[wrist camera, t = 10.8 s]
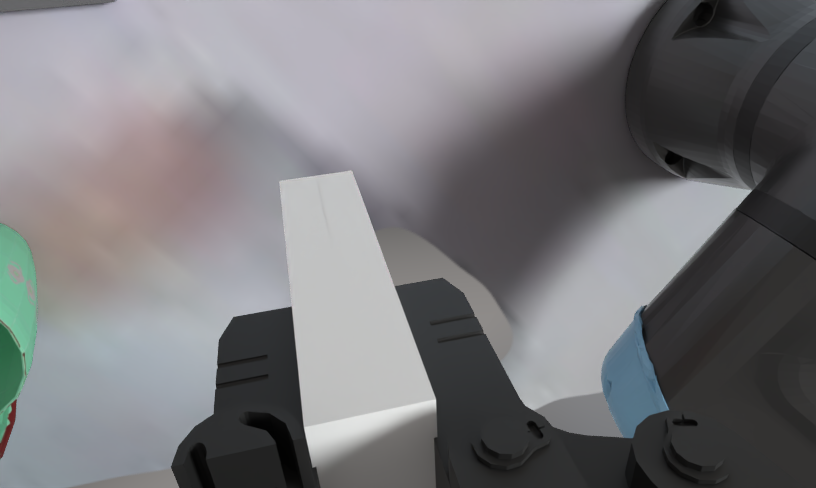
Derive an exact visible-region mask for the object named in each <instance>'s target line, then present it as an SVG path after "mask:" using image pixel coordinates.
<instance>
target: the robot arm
mask: <svg viewBox="0 0 816 488" xmlns="http://www.w3.org/2000/svg"><path fill="white" fill-rule="evenodd" d="M625 103H626V116H627V121H628V125H629V128H630V131H631V134H632V136H633V138H634V140H635V142H636V144H637V145H638V147H639V148H640V149H641V151H642V152H643V153H644V154H645V155H646V156H647V157H648V158H650V159H651V160H652V161H654V162H655V163H657V164H658V165H660V166H661V167H663V168H664V169H666V170H667V171H669V172H671V173H673V174H674V175H677V176H679V177H682V178H684V179H687V180H691V181H696V182H702V183H709V184H715V185H722V186H728V187H734V188H741V189H747V190H752V192H751V193H750V194H749V195H748V196H747V197H746V198H745V199H744V200H743V202H742V203H741V204H740V205H739V206H738V207H737V208H736V209H734V211H733V212H732V213H731V214H730V215H729V216H728V217H727V218H726V219H725V221H724V222H723V223H722V224H721V225H720V226H719V227H718V228H717V230H716V231H715V232H714V233H713V234H712V235H711V236H710V237H709V238H708V240H707V241H706V242H705V243H704V244H703V245H702V246H701V247H700V248H699V250H698V251H697V252H696V253H695V254H694V255H693V256H692V257H691V259H690V260H689V261H688V262H687V263H686V264H685V265H684V266H683V267H682V269H681V270H680V271H679V272H678V273H677V274H676V275H675V276H674V277H673V279H672V280H671V281H670V282H669V283H668V284H667V285H666V286H665V287H664V288H663V290H662V291H661V292H660V293H659V294H658V295H657V296H656V297H655V298H654V299H653V300H652V301H651V302H650V304H649V305H648V306H647V305H646V306H641V307H640V308H639V309H638V310H637V312H636V313H635V316H634V320H633V322H632V323H631V324H630V325H629V327H628V328H627V329H626V330H625V332H624V333H623V334H622V335H621V336H620V338H619V339H618V340H617V341H616V343H615V344H614V345H613V346H612V348H611V349H610V350H609V352H608V353H607V355H606V356H605V359H604V361H603V365H602V373H601V381H602V388H603V392H604V395H605V398H606V401H607V403H608V405H609V410H610V412H611V415H612V417H613V419H614V421H615V423H616V425H617V427H618V428H619V430H620V432H621V434H622V435H623V437H624V438H619V437H603V436H587V435H580V434H574V433H569V432H566V431H563V430H560V429H557V428H554V427H552V426H551V425H550V423H549V422H548V421H547V420H546V419H545V417H543V416H542V415H540V414H538V413H536V412H535V411H533V410H531V409H530V408H528V407H526V406H525V405H524V404H523V402H522V401H521V400H520V398H519V396H518V394H517V392H516V391H515V389H514V387H513V385H512V383H511V381H510V379H509V378H508V376H507V374H506V372H505V370H504V368H503V366H502V364H501V363H500V361H499V359H498V357H497V355H496V353H495V351H494V349H493V348H492V346H491V344H490V342H489V340H488V338H487V336H486V334H484V333H483V329H482V327H481V325H480V323H479V321H478V319H477V318H476V317H475V316H474V312H473V310H472V308H471V306H470V305H469V303H468V301H467V299H466V297H465V295H464V293H463V292H461V291H460V290H459V289H457V288H456V287H454V286H453V285H452V284H450V283H449V282H448V281H446V280H445V279H443V278H440V279H433V280H428V281H422V282H417V283H411V284H405V285H400V286H394V284H393V281H392V278H391V276H390V273H389V270H388V267H387V265H386V262H385V259H384V256H383V254H382V251H381V248H380V245H379V243H378V240H377V238H376V235H375V232H374V229H373V226H372V224H371V221H370V218H369V215H368V213H367V210H366V207H365V205H364V202H363V199H362V196H361V194H360V191H359V188H358V186H357V183H356V180H355V177H354V175H353V172H352V171H346V172H339V173H332V174H325V175H318V176H311V177H304V178H297V179H290V180H283V181H279V183H280V193H281V203H282V213H283V223H284V233H285V243H286V253H287V263H288V273H289V283H290V293H291V303H292V307H288V308H282V309H276V310H271V311H265V312H259V313H254V314H248V315H243V316H237V317H233V319H232V320H231V322H230V323H229V325H228V327H227V328H226V330H225V331H224V333H223V334H222V336H221V338H220V339H219V347H218V361H217V365H218V369H217V375H216V390H215V403H214V414H213V415H212V416H210V417H209V418H207V419H206V420H204V421H203V422H201V423H200V424H198V425H197V426H195V427H194V428H193V430H192V431H191V432H190V433H189V434H188V435H187V437H186V438H185V439H184V440H183V441H182V443H181V444H180V445H179V447H178V449H177V452H176V455H175V457H174V460H173V463H172V466H171V468H172V471H173V473H174V476H175V478H176V480H177V483H178V485H179V488H816V0H667V1H666V3H665V4H664V5H663V6H662V7H661V9H660V10H659V11H658V13H657V14H656V15H655V17H654V18H653V20H652V21H651V23H650V24H649V26H648V28H647V29H646V31H645V33H644V35H643V37H642V39H641V41H640V43H639V45H638V47H637V49H636V52H635V55H634V57H633V60H632V63H631V67H630V70H629V75H628V80H627V86H626V98H625Z"/></svg>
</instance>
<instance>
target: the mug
mask: <svg viewBox="0 0 816 488" xmlns="http://www.w3.org/2000/svg"><path fill="white" fill-rule="evenodd" d="M37 317H38V303H37V284H36V272H35V267H34V262H33V258H32V254H31V250H30V248H29V246H28V244H27V242H26V241H25V240H24V239H23V238H22V237H21V236H20V235H19V234H18V233H17V232H16V231H14V230H13V229H11V228H9V227H8V226H6V225H4V224H1V223H0V459H1V458H2V457H3V454H4V451H5V448H6V446H7V443H8V440H9V437H10V434H11V431H12V428H13V425H14V422H15V417H16V401H17V398H18V396H19V394H20V392H21V390H22V388H23V385H24V383H25V380H26V378H27V375H28V372H29V370H30V367H31V364H32V359H33V351H34V345H35V339H36V333H37Z"/></svg>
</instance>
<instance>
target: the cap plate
mask: <svg viewBox="0 0 816 488" xmlns="http://www.w3.org/2000/svg"><path fill="white" fill-rule="evenodd" d="M115 1H117V0H0V12H6V11H17V10H28V9H40V8H51V7H63V6H74V5H85V4H97V3H108V2H115Z"/></svg>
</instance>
